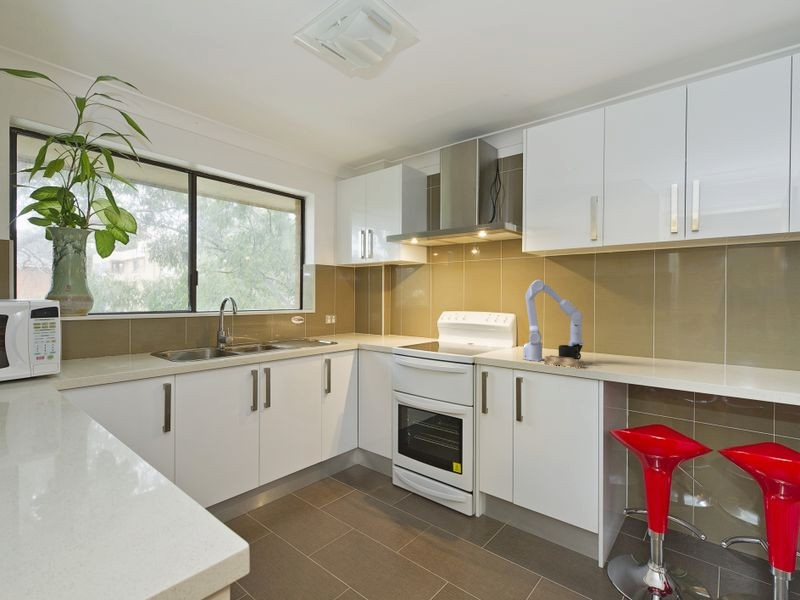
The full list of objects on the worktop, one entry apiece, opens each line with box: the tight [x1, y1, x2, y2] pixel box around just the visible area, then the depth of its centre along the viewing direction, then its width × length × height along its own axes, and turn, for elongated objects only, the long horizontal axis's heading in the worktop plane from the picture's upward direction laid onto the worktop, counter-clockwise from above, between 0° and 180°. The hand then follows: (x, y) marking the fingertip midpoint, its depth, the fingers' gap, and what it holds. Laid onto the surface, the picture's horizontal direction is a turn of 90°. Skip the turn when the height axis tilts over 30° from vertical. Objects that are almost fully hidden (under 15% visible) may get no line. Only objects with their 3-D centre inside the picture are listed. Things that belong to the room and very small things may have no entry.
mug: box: [558, 344, 582, 361], centre depth 208 cm, size 9×12×9 cm
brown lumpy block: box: [544, 354, 584, 369], centre depth 203 cm, size 17×7×5 cm, turn 43°
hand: (575, 358), depth 213 cm, fingers closed
